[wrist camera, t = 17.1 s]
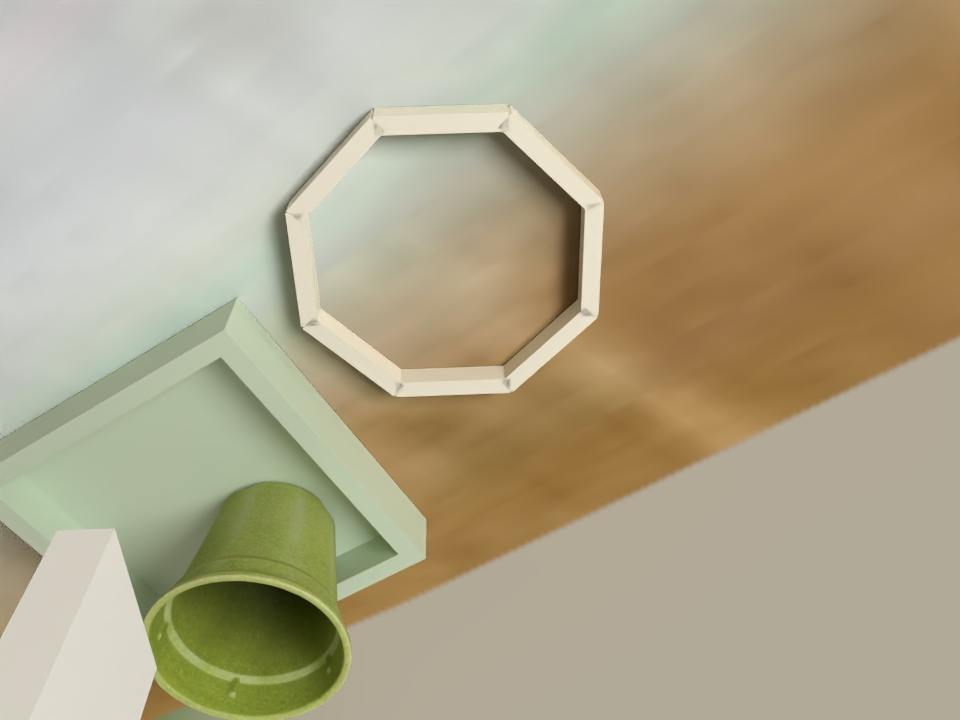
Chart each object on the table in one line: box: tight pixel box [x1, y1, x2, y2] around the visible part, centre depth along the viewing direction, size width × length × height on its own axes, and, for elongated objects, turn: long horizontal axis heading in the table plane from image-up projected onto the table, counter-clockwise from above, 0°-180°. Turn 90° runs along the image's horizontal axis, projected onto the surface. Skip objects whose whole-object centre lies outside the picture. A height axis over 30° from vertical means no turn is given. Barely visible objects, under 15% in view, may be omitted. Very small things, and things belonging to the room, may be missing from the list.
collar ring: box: [285, 104, 604, 397], centre depth 41 cm, size 14×14×1 cm
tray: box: [0, 298, 426, 621], centre depth 47 cm, size 16×16×3 cm
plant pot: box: [143, 482, 351, 720], centre depth 45 cm, size 9×9×9 cm
